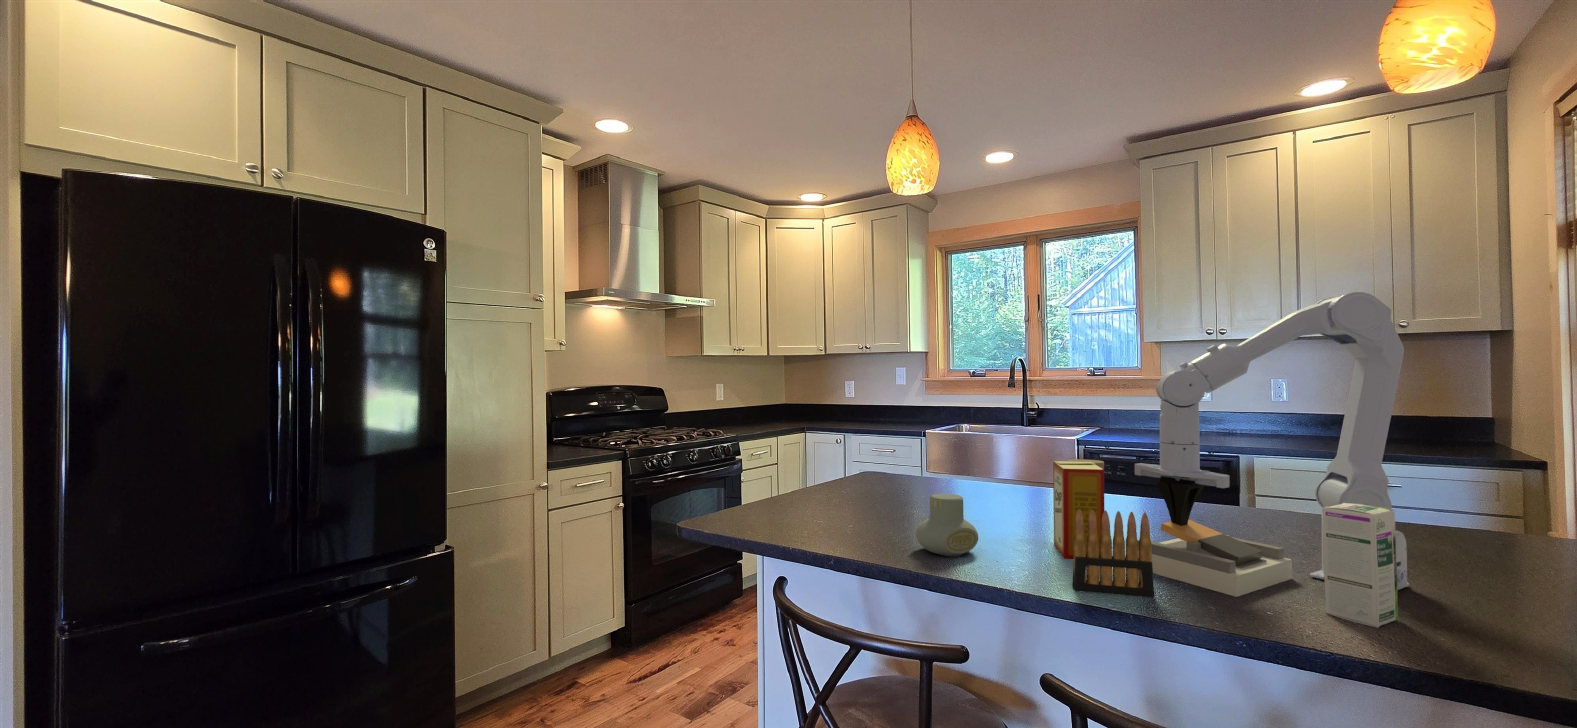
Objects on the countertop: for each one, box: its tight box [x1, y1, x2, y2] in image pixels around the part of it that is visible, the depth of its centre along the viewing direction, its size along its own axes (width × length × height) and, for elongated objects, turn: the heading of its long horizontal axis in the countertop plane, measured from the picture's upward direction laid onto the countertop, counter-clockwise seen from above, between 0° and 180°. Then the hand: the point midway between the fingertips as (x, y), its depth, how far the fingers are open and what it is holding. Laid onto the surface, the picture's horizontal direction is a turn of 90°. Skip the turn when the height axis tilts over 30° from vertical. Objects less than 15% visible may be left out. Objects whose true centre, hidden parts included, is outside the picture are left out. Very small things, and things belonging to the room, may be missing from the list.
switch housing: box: [1137, 534, 1293, 598], centre depth 104 cm, size 16×16×6 cm
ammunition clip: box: [1071, 509, 1155, 599], centre depth 95 cm, size 11×2×12 cm, turn 74°
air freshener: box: [915, 493, 979, 558], centre depth 117 cm, size 11×8×10 cm
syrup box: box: [1321, 503, 1399, 629], centre depth 85 cm, size 6×6×14 cm
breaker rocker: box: [1159, 519, 1263, 565], centre depth 104 cm, size 12×7×1 cm, turn 29°
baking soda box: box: [1052, 460, 1105, 561], centre depth 116 cm, size 10×6×16 cm
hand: (1179, 524), depth 108 cm, fingers closed, pressing on breaker rocker
